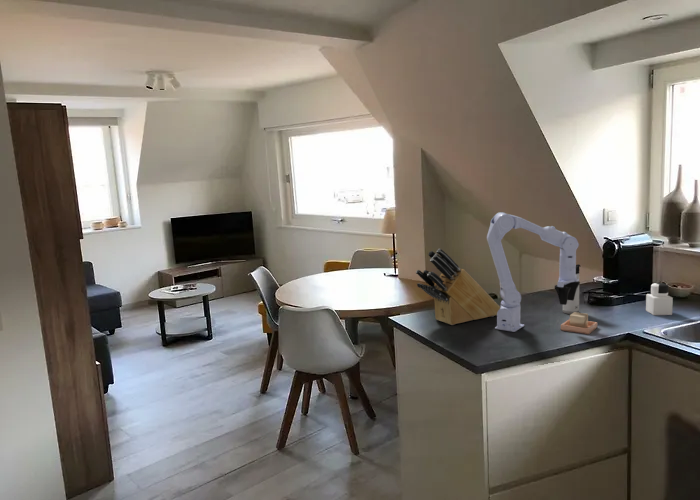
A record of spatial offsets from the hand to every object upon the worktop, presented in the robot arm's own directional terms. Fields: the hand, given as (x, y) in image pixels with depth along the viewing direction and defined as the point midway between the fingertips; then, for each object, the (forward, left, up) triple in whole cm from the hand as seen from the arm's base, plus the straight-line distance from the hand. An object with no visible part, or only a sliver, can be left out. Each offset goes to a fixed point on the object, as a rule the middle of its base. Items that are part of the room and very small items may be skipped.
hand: (566, 302), depth 206 cm
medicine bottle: (+36, -24, -10) cm, 44 cm away
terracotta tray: (-1, -5, -9) cm, 11 cm away
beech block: (-1, -5, -9) cm, 10 cm away
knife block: (-13, +39, -10) cm, 42 cm away
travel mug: (+20, +5, -10) cm, 22 cm away
